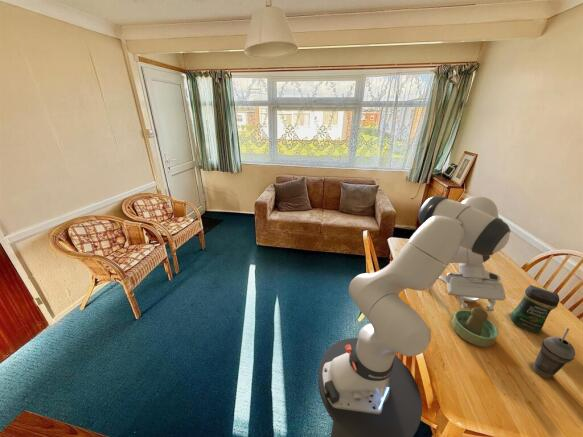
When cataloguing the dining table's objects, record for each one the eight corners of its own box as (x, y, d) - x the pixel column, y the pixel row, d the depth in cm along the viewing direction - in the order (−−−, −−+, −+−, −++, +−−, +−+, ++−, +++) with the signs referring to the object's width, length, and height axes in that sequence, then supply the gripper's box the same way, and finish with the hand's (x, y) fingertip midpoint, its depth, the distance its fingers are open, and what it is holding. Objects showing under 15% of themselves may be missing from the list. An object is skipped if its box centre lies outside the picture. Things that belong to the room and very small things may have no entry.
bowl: (468, 348, 88) (472, 339, 85) (443, 318, 100) (446, 310, 98) (502, 346, 89) (508, 337, 86) (473, 317, 101) (477, 308, 99)
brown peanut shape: (459, 327, 95) (468, 308, 91) (467, 322, 98) (476, 303, 93) (475, 339, 91) (485, 319, 86) (483, 333, 93) (493, 313, 88)
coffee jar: (509, 323, 98) (528, 290, 90) (509, 312, 104) (527, 280, 96) (541, 336, 92) (564, 302, 85) (539, 324, 98) (560, 291, 90)
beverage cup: (535, 378, 78) (565, 338, 69) (522, 358, 84) (548, 319, 76) (562, 385, 76) (596, 344, 67) (547, 364, 82) (576, 325, 74)
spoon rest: (477, 294, 114) (482, 283, 111) (477, 309, 105) (483, 297, 102) (424, 277, 126) (427, 266, 123) (421, 289, 118) (424, 278, 115)
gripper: (449, 271, 95) (453, 306, 91) (504, 276, 92) (511, 313, 88) (442, 273, 101) (445, 306, 97) (493, 278, 98) (499, 312, 93)
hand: (477, 309), depth 92 cm, fingers open, 8 cm apart
